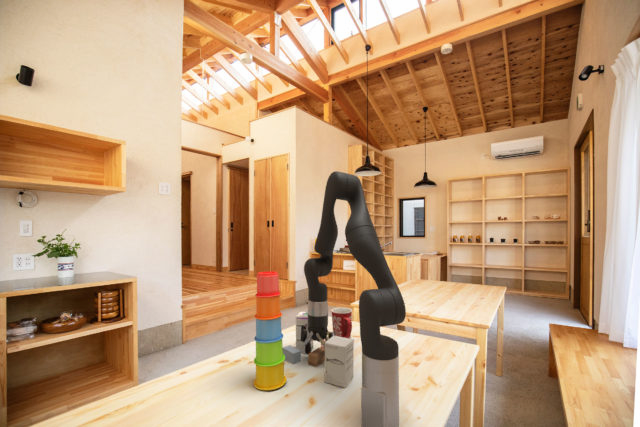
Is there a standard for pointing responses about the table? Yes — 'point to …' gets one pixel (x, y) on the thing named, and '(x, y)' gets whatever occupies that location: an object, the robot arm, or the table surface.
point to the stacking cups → (268, 334)
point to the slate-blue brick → (292, 354)
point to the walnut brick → (316, 357)
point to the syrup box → (300, 321)
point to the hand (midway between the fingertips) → (317, 357)
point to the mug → (342, 322)
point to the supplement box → (339, 361)
